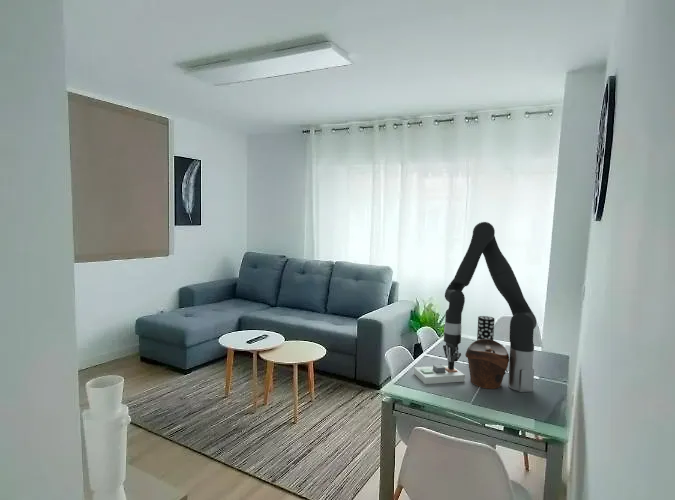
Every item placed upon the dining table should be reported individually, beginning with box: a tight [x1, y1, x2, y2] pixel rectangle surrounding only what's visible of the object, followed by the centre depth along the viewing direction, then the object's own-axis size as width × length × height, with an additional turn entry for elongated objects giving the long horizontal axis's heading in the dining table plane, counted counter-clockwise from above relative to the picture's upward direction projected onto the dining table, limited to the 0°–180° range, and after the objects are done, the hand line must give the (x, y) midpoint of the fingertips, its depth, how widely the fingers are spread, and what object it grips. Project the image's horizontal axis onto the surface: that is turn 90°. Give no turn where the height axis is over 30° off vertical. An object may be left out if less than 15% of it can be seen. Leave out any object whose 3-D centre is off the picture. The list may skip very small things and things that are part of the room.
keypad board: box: [413, 364, 466, 385], centre depth 179 cm, size 12×19×3 cm, turn 103°
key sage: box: [421, 369, 433, 374], centre depth 177 cm, size 4×4×2 cm
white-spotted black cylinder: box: [476, 315, 495, 341], centre depth 213 cm, size 8×8×20 cm
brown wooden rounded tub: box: [465, 339, 510, 390], centre depth 173 cm, size 18×20×18 cm
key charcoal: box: [432, 364, 445, 372], centre depth 178 cm, size 4×4×2 cm
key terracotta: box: [445, 367, 458, 373], centre depth 180 cm, size 4×4×2 cm
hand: (450, 368), depth 180 cm, fingers closed
